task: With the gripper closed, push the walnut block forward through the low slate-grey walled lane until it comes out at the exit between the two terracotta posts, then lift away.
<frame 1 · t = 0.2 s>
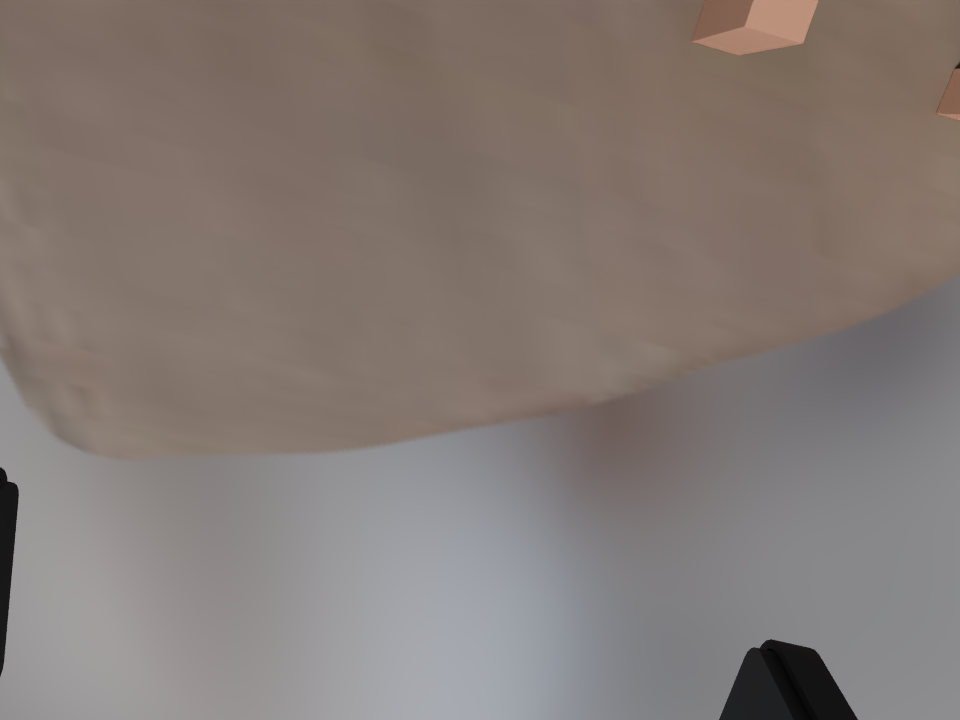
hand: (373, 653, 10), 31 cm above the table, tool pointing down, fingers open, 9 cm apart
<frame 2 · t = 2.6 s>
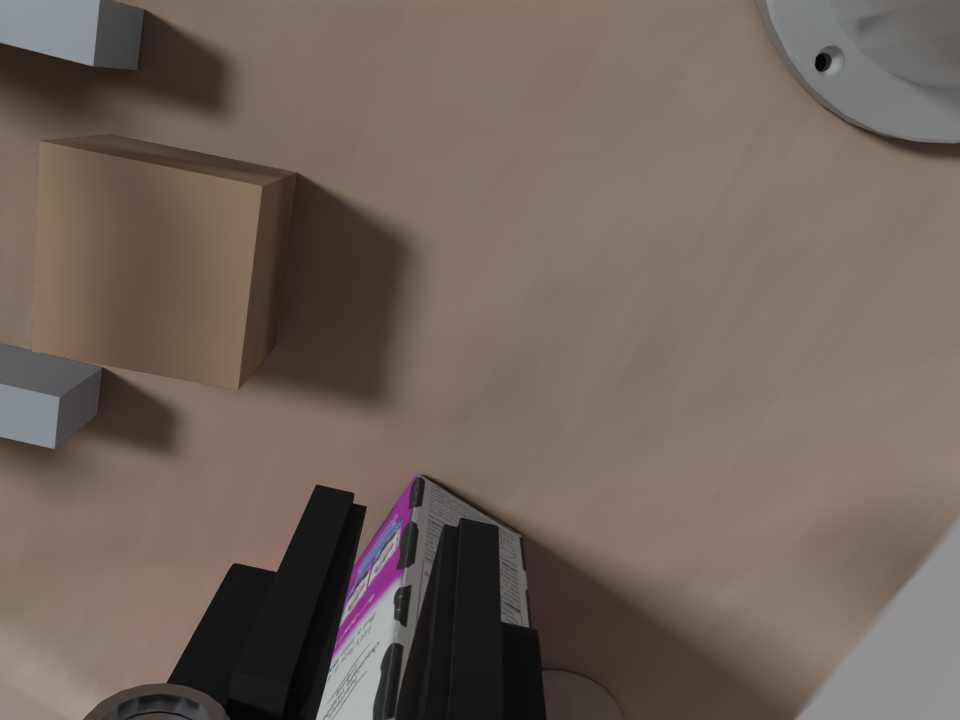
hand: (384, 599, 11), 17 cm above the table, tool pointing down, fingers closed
milk carton: (399, 607, 32), on the table
walnut block: (196, 244, 27), on the table
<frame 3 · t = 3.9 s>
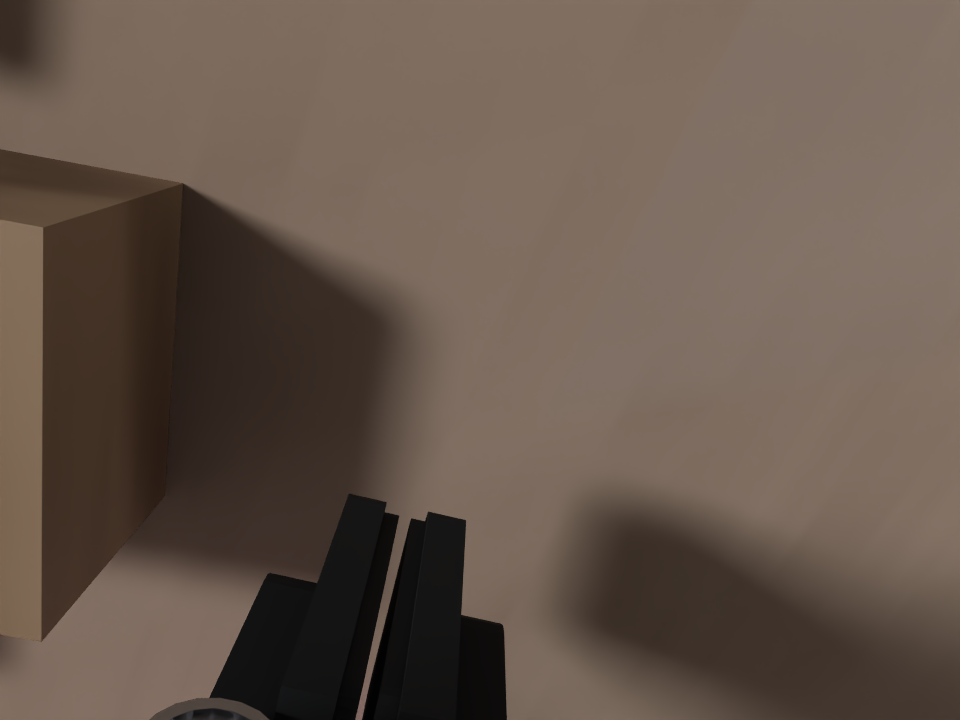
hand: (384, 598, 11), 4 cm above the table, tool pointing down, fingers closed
walnut block: (12, 317, 15), on the table
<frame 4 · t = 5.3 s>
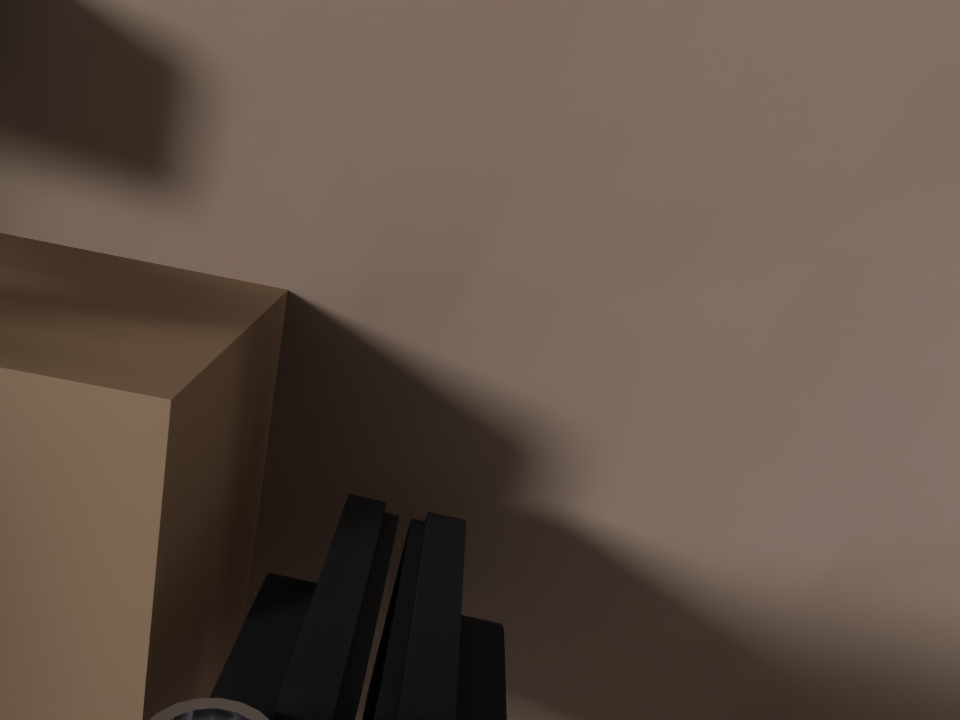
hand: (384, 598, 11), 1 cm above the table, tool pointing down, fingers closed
walnut block: (68, 439, 13), on the table, touching gripper
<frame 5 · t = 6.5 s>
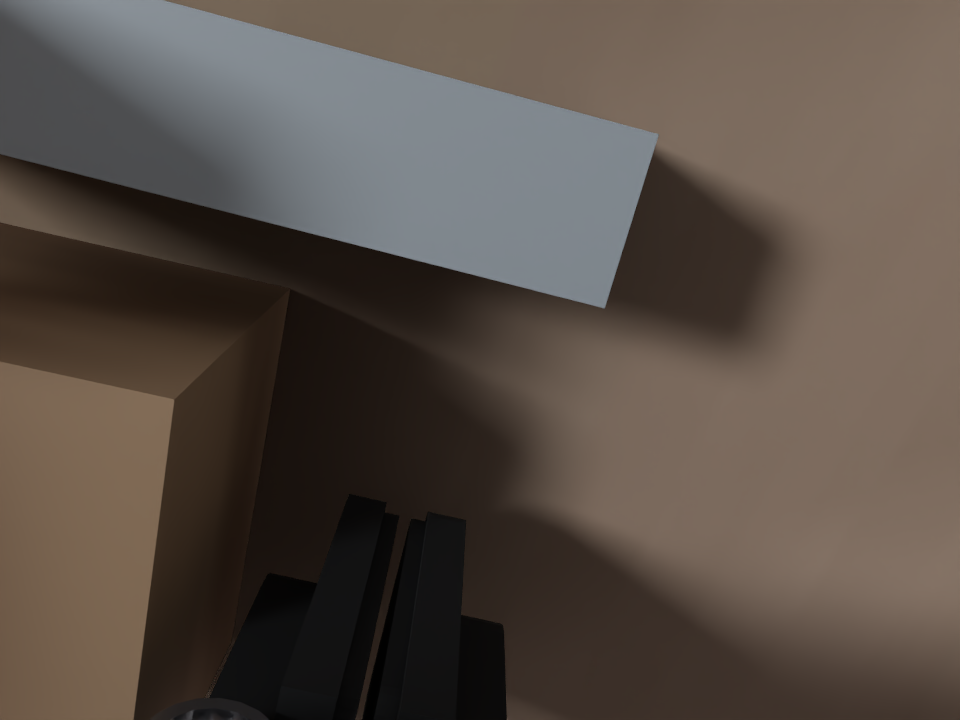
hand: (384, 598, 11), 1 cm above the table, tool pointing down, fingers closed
lane: (232, 504, 13), on the table
walnut block: (60, 434, 12), on the table, touching gripper
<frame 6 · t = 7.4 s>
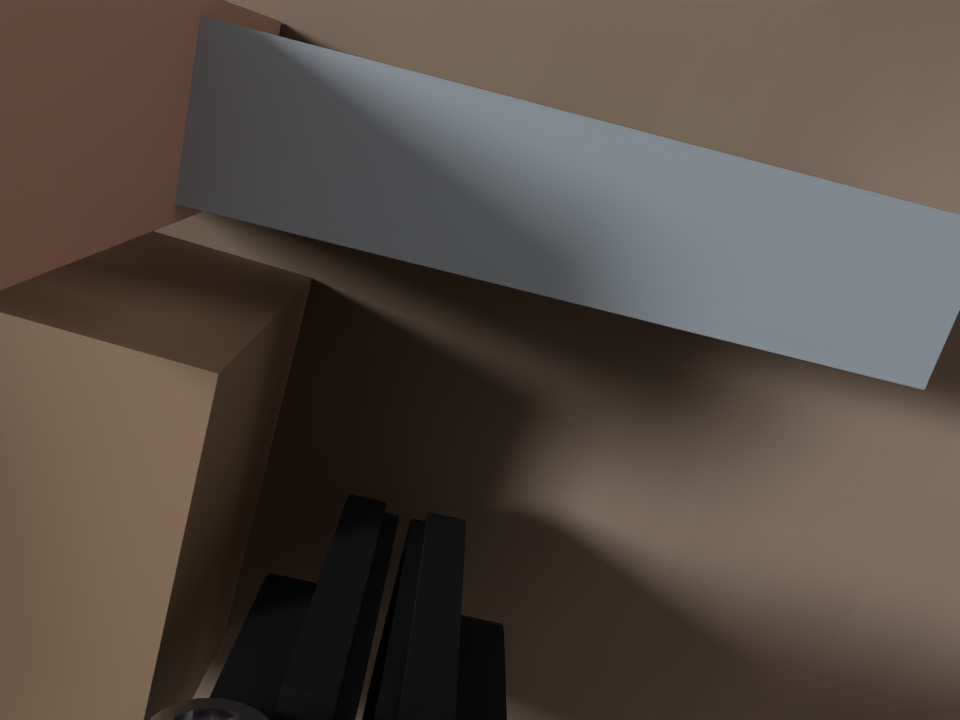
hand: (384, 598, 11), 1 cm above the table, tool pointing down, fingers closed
lane: (457, 559, 13), on the table
walnut block: (76, 404, 12), on the table, touching gripper
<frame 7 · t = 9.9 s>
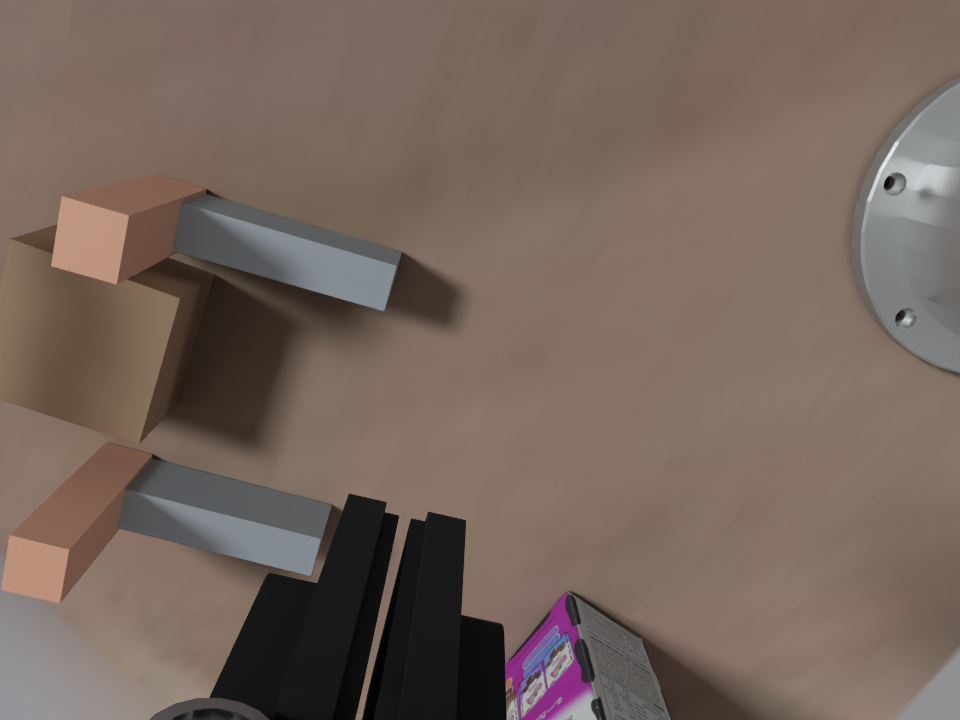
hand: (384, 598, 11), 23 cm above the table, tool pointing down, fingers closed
milk carton: (539, 689, 40), on the table
lane: (267, 378, 35), on the table
walnut block: (125, 315, 34), on the table
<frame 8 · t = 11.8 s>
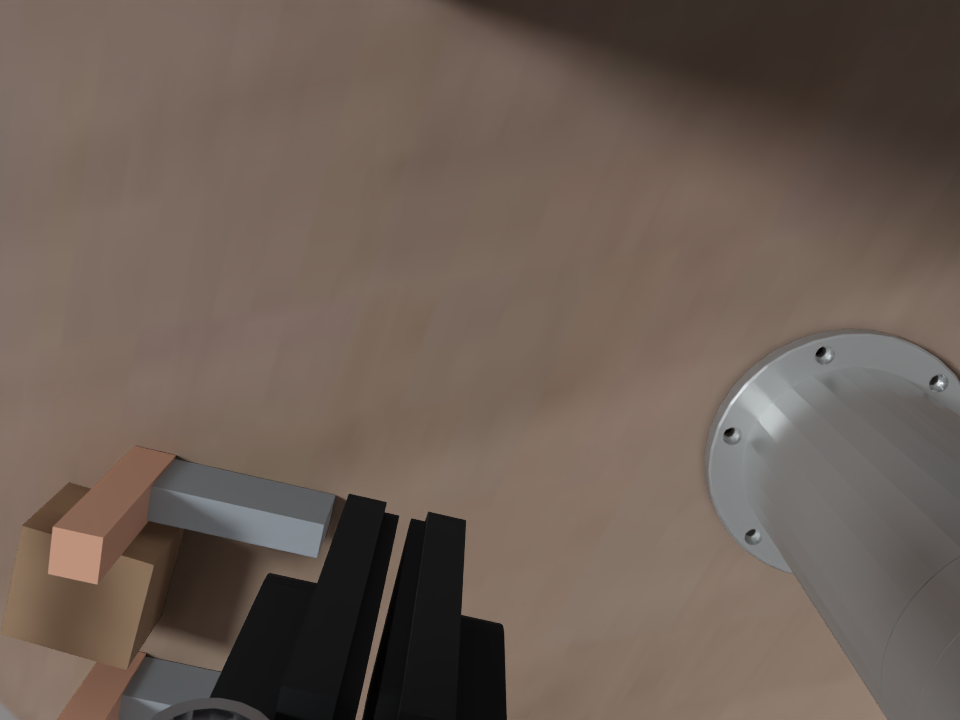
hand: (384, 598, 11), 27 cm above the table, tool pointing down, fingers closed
lane: (234, 593, 43), on the table
walnut block: (117, 549, 42), on the table
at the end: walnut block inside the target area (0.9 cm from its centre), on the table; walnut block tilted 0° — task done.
